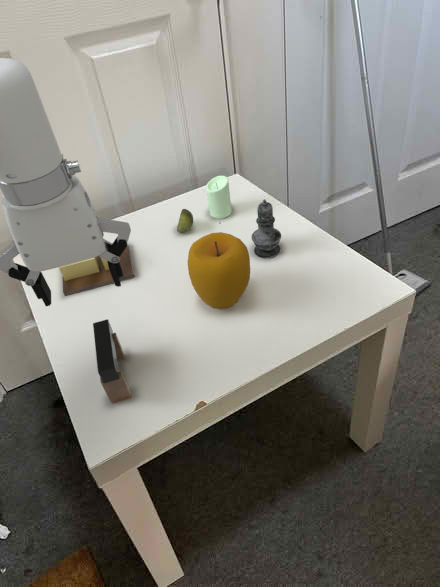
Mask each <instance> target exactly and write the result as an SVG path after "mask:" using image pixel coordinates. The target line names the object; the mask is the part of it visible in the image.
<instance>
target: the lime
mask: <svg viewBox="0 0 440 587" xmlns="http://www.w3.org/2000/svg"><path fill="white" fill-rule="evenodd" d="M193 226H194V215H193V214H192V212H191V211H190V210H188V209H187V208H182V210H181V212H180V215H179V219H178V223H177V226H176V232H177V233H186V232H189V231H190V230H191V229H192V227H193Z"/></svg>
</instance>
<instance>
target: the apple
mask: <svg viewBox="0 0 440 587" xmlns="http://www.w3.org/2000/svg"><path fill="white" fill-rule="evenodd" d="M187 269H188V270H187V271H188V276H189V280H190V282H191V283H190V284H191V285H192V288H193V290H194V291H195V293H196V294H197V295H198V297H199V298H200V300H201V301H202V302H204V303H205V304H206V305H207V306H209V307H210V308H212V309H215V310H225V309H231V307H233V306H235V305H237V303H238V302H239V301H240V299H241V298H242V296H243V295H244V293H245V292H246V290H247V288H248V285H249V282H250V279H251V258H250V252H249V249H248V247H247V245H246V244H245V243H244V242H243V241H242V239H240V238H239V237H237V236H234V235H233V234H230V233H226V232H222V231H220V232H219V231H217V232H212V233H209V234H205V235H204V236H201V237H200V238H198V239H197V240H195V241H193V243H192V244H191V246H190V248H189V250H188V254H187Z"/></svg>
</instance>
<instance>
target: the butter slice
mask: <svg viewBox="0 0 440 587" xmlns="http://www.w3.org/2000/svg"><path fill="white" fill-rule="evenodd" d="M101 259H102V262H103V265H104V267H105V270H109V267H108V262H107V260H105V259H103V258H101Z"/></svg>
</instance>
